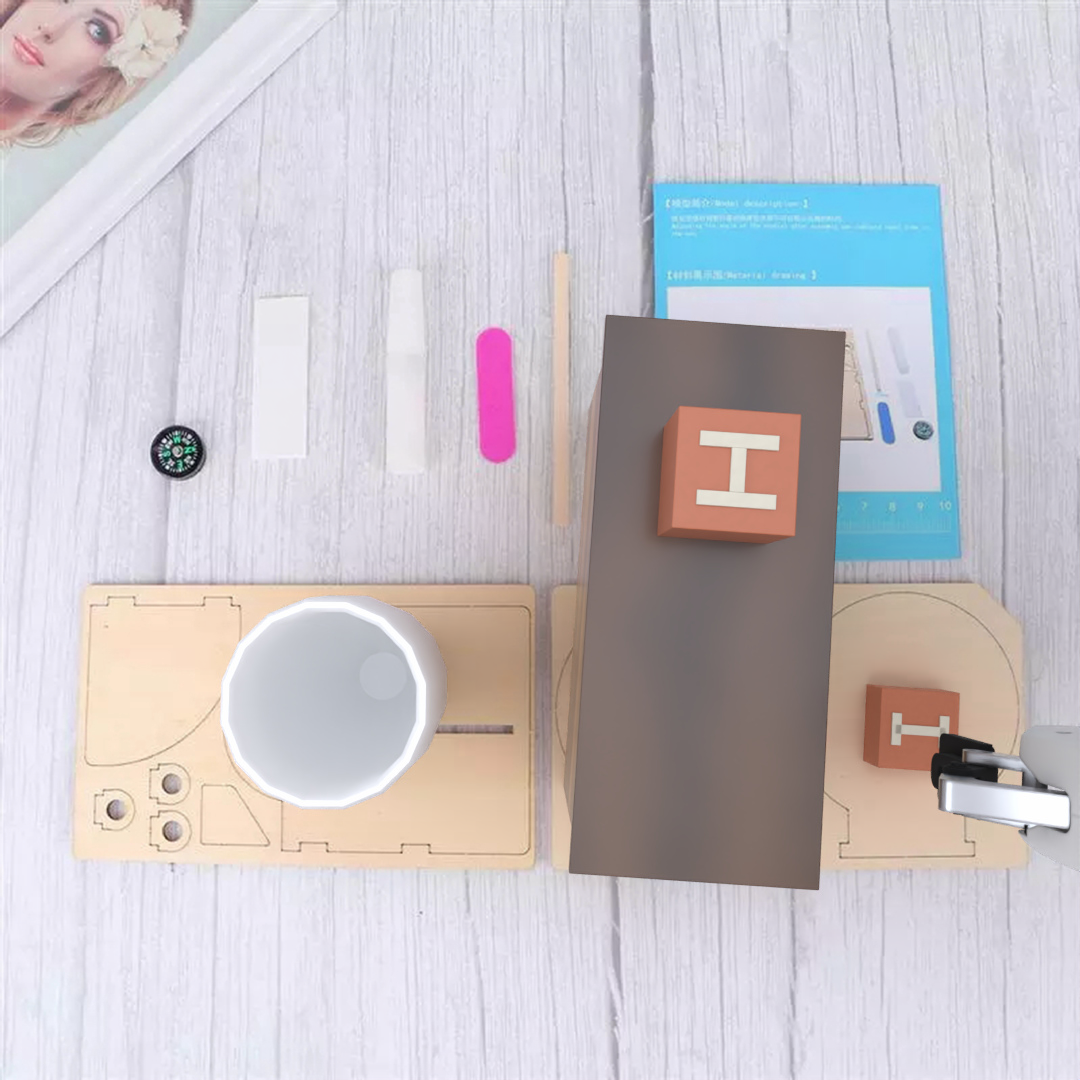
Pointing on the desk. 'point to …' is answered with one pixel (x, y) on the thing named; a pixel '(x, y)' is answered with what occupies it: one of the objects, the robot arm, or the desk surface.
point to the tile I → (907, 725)
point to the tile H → (729, 475)
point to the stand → (581, 598)
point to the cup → (332, 700)
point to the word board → (706, 623)
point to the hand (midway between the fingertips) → (1047, 774)
